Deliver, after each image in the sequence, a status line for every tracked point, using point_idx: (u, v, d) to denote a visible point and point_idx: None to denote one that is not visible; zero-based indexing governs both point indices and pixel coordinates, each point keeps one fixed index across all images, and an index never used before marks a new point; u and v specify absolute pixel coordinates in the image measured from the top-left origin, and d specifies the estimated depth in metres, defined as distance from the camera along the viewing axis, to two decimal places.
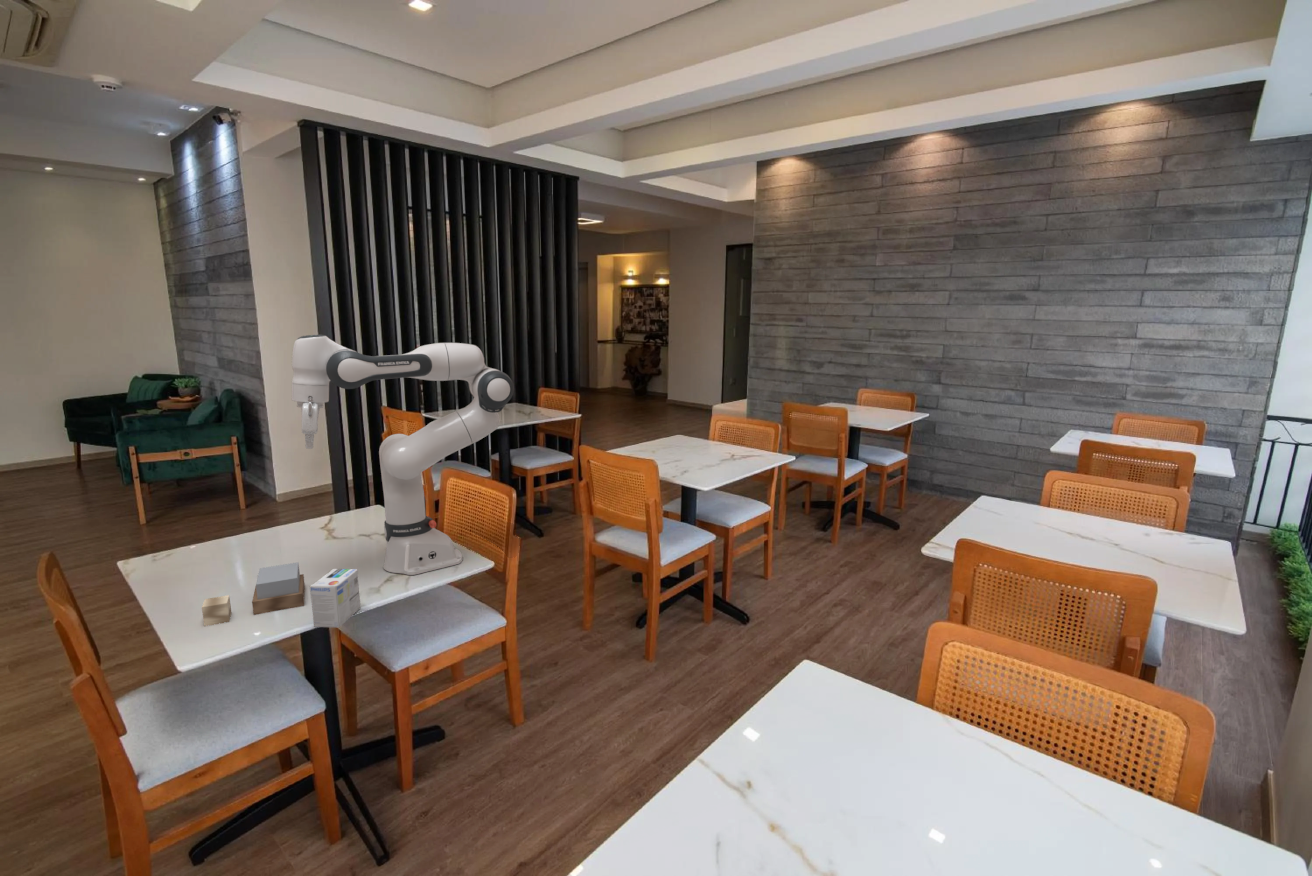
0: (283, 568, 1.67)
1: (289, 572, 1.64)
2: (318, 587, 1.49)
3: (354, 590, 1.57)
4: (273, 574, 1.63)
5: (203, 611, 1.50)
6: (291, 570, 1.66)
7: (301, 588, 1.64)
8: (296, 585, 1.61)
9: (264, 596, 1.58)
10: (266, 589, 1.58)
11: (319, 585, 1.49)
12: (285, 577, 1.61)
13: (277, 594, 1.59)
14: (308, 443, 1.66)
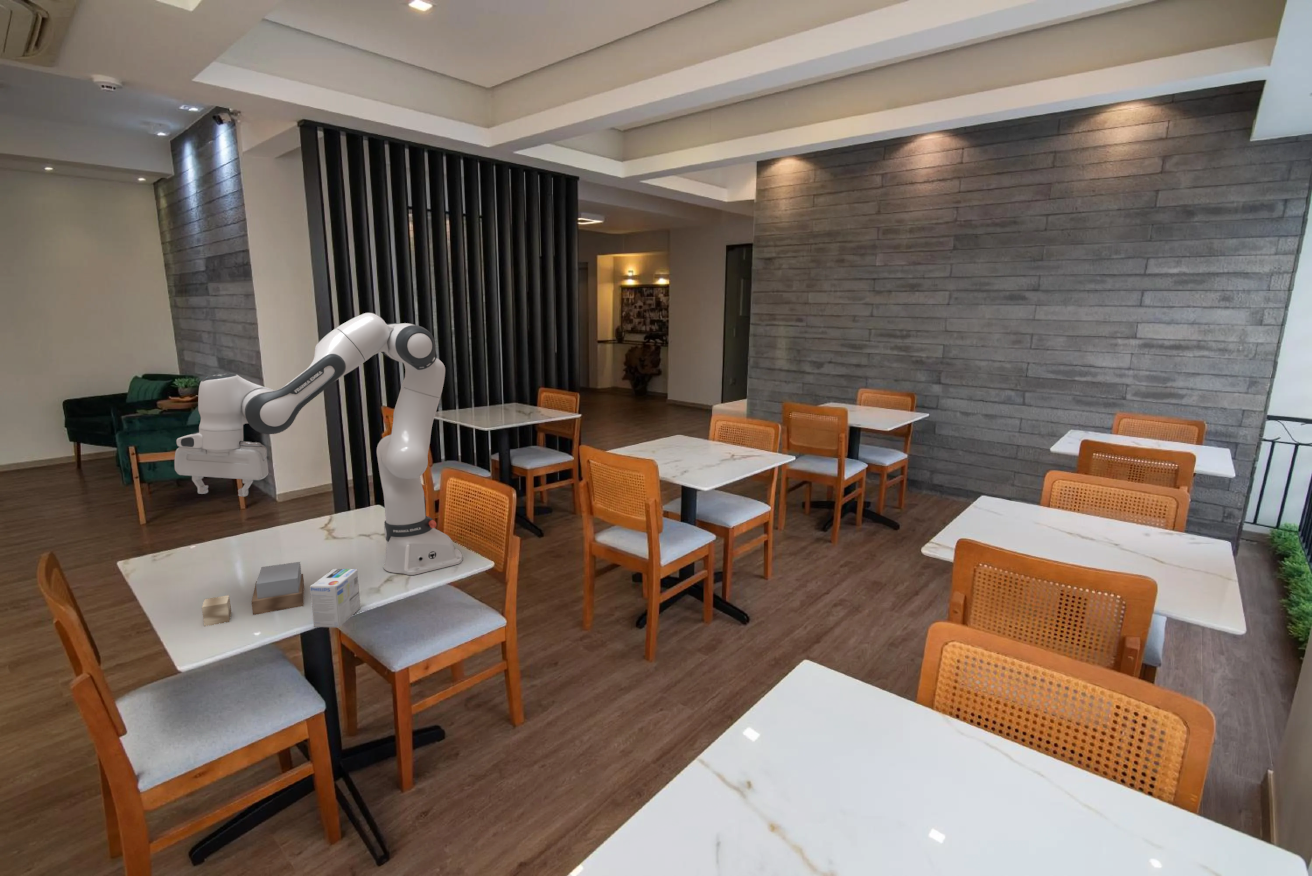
0: (284, 568, 1.67)
1: (290, 571, 1.64)
2: (318, 587, 1.49)
3: (354, 590, 1.57)
4: (274, 573, 1.63)
5: (203, 611, 1.50)
6: (292, 570, 1.66)
7: (300, 588, 1.64)
8: (296, 585, 1.61)
9: (264, 596, 1.58)
10: (266, 589, 1.58)
11: (319, 585, 1.49)
12: (285, 577, 1.61)
13: (277, 594, 1.59)
14: (245, 490, 1.55)
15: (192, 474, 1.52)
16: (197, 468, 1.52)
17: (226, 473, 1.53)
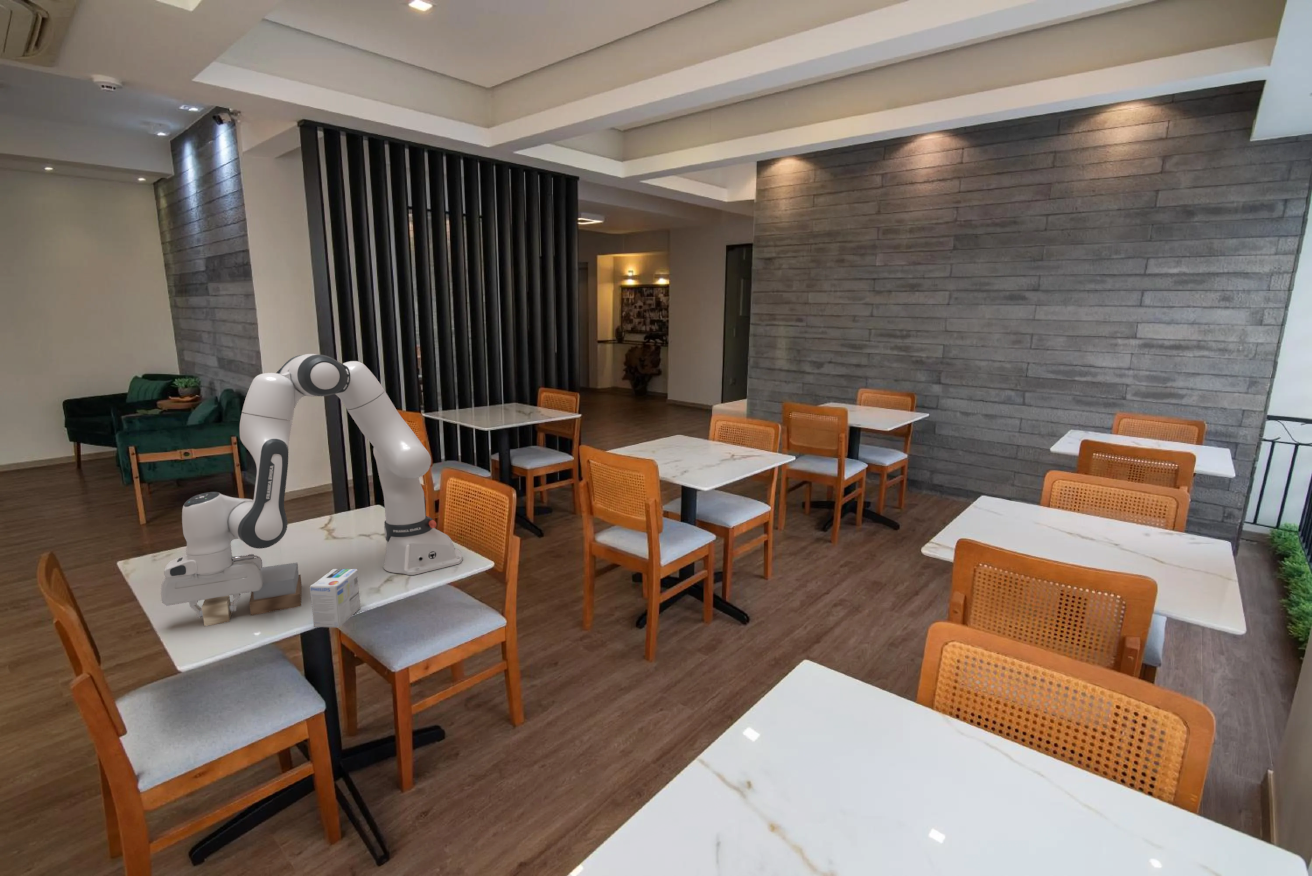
0: (281, 568, 1.67)
1: (286, 572, 1.64)
2: (318, 587, 1.49)
3: (354, 590, 1.57)
4: (271, 574, 1.63)
5: (203, 611, 1.50)
6: (289, 570, 1.65)
7: (298, 589, 1.64)
8: (293, 586, 1.61)
9: (260, 596, 1.58)
10: (263, 589, 1.58)
11: (319, 585, 1.49)
12: (282, 578, 1.61)
13: (273, 595, 1.59)
14: (235, 605, 1.55)
15: (183, 601, 1.49)
16: (189, 594, 1.49)
17: (222, 592, 1.52)
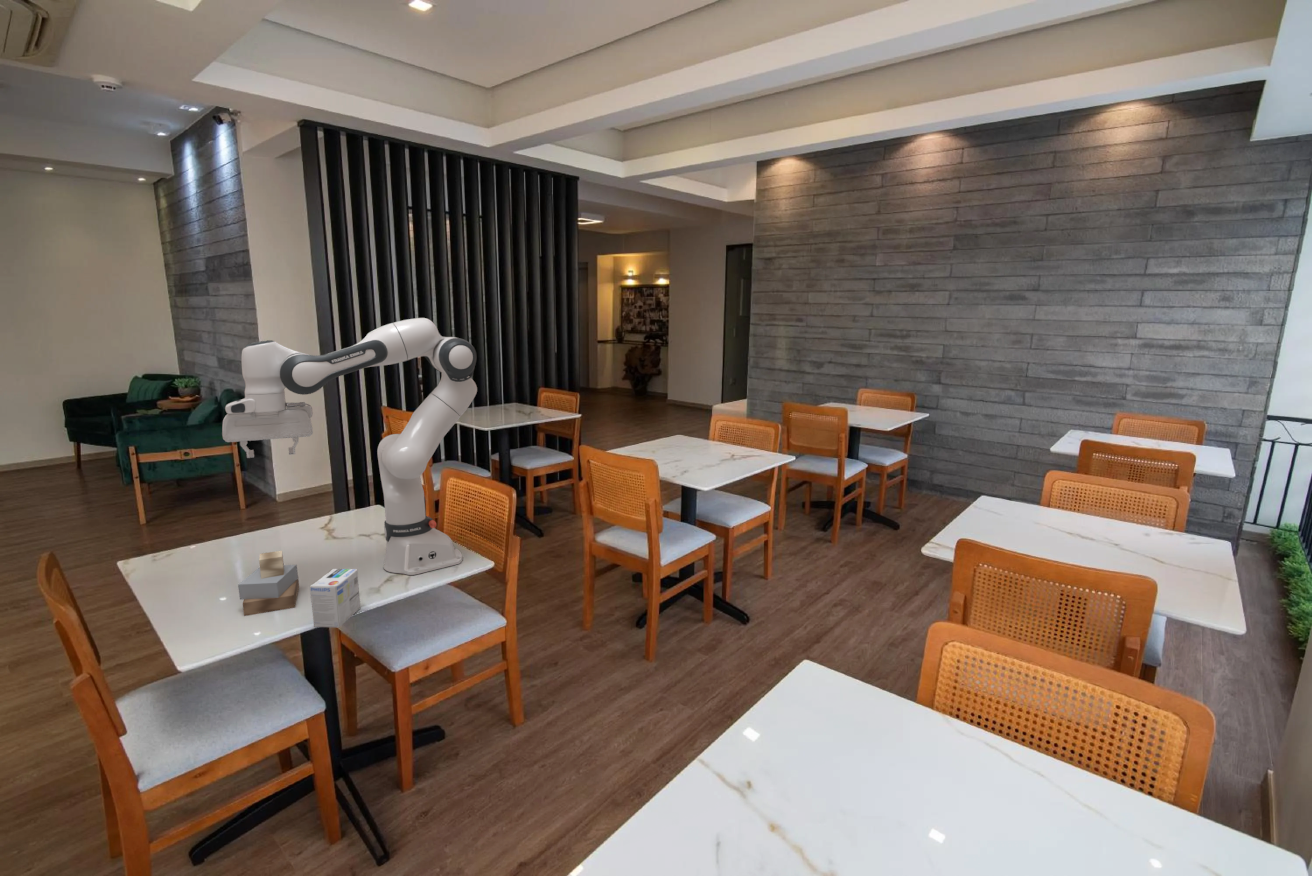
0: None
1: None
2: (318, 587, 1.49)
3: (354, 590, 1.57)
4: None
5: (260, 564, 1.60)
6: None
7: (293, 590, 1.63)
8: (276, 590, 1.58)
9: (246, 597, 1.57)
10: (248, 590, 1.57)
11: (319, 585, 1.49)
12: (268, 580, 1.59)
13: (258, 596, 1.58)
14: (294, 448, 1.68)
15: (242, 439, 1.60)
16: (247, 432, 1.61)
17: (277, 434, 1.64)
